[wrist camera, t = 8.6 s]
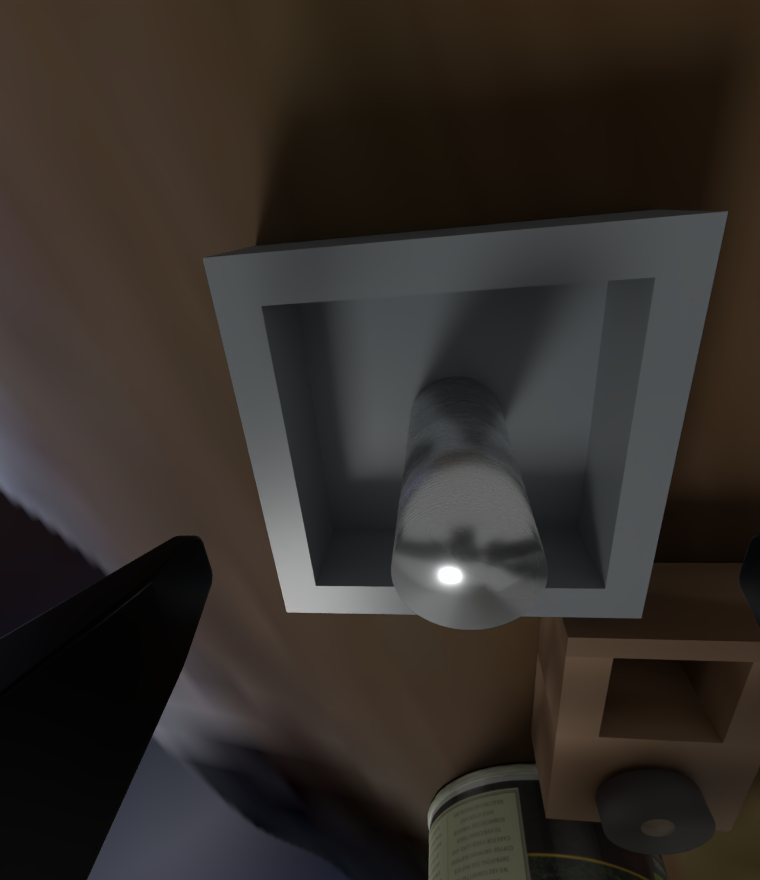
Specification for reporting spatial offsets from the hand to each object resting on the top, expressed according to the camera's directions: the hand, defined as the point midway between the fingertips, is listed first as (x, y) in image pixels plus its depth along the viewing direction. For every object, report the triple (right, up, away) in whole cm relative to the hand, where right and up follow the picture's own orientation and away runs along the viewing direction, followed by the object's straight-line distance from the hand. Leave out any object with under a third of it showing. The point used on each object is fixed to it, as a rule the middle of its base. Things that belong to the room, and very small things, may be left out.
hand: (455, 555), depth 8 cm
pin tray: (+1, +3, +6) cm, 6 cm away
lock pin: (+1, +3, +5) cm, 6 cm away
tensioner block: (+7, -6, +9) cm, 13 cm away
